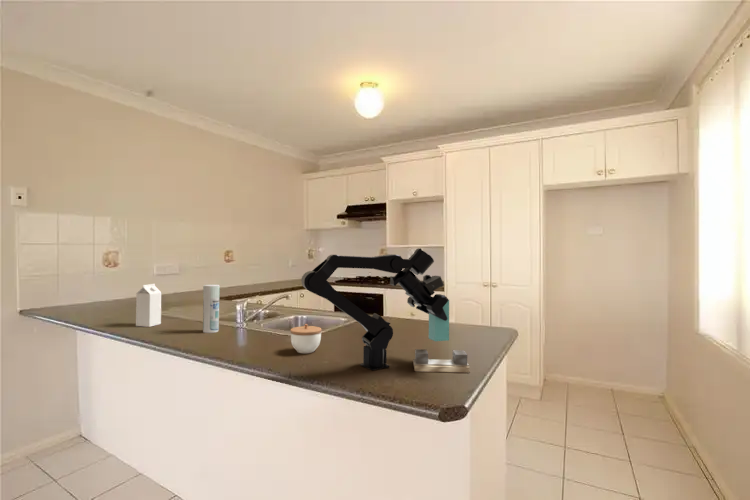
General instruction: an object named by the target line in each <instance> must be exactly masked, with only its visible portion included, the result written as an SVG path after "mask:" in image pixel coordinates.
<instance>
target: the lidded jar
mask: <svg viewBox="0 0 750 500" xmlns="http://www.w3.org/2000/svg"><path fill="white" fill-rule="evenodd" d="M321 339H322V328H321V327H319V326H313V325H308V323H305V324H304V326H294V327H292V328H291V329H290V342H291V346H292V347H293V348H294V350H295V351H296V352H297V353H298V354H311V353H314V352H315V350H316V349H317V348H319V346H320V344H321Z"/></svg>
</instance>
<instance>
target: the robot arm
mask: <svg viewBox="0 0 750 500" xmlns="http://www.w3.org/2000/svg"><path fill="white" fill-rule="evenodd" d="M434 262H435V260H434V258H433V257H432V256H431V255H430V254H429V253H427V252H426V251H424V250H422V248H416V250H414V253H412V255H410V256H409V257H408V258H403V257H402V256H401V255H400V254H382V255H377V256H355V255H353V256H351V255H339V254H329V255H328V256H327V257H326V258H325V260H323V261H322V262H321V263H319V264H318V265H317V266H315V267H314V268H313V270H309V271H307V272H305V273H303V275H302V276H301V279H300V281H301V285H302V287H303V288H304V289H306V290H307V291H309V293H312V294H314V295H317V296H319V297H321V298H323V299H325V300H326V301H328V302H329V303H331V304H332V305H334V306H336V307H337V308H338V309H339V310H341V312H343V313H345V314H346V315H347V316H349V317H350V318H352V319H353V320H354V321H356V322H357V323H359V325H360V326H362V327H363V329H364V330H365V333H364V334H363V335H362V336H361V340H362V343H363V344H364V346H363V354H362V355H363V358H362V359H363V362H361V363H360V365H359V366H361V367H363V368H366V369H368V370H370V371H377V370H380V369H381V370H382V369H385V368H389V364H387V348H388V344H389V343H390V341H391V340H392V339H393V336H394V329H393V327H392V326H391V322H390V321H387V320H385V319H384V318H383V317H382V316H381V315H379V314H377V313H375V312H374V313H373V314H372V315H370V314H368V313H367V312H365V311H364V310H363V309H361V308H360V307H359V306H357V305H356V304H355V303H353V301H351V300H349V298H347V297H345V296H344V295H343V294H341V293H340V292H338V290H336V289H335V288H334V287H333V286H332V285H331V284H330V282H329V281H328V280H329V278H330V277H331V276H332V275H333V274H334V272H335V271H336V270H338V269H340V268H341V269H342V268H343V269H368V270H369V269H371V270H377V271H380V272H385V273H391V274H395V275H394V276H392V275H391V276H390V280H389V285H391V286H394V287H395V286H397V284H398V285H399V286H400V287H401V288H402V289H403V291H405V295H406V296H408V298H407V304H408V305H409V306H410V307H412V308H414V307H415V308H416V310H418V311H421V312H423V313H425V314H428V315H429V313H430V314H432V315H434V316H436V317H438V318H440V319H442V320H444V321H446V320H447V319H448V318H447V316H446V314H445V312H444V309H443V307H444V305H445V304H446V303H447V302H448V300H449V301H450V299H449V298H448V297H447V296H446V295H445V294H442V293H441V294H440V293H439V294H438V293H436V294H435V291H436V290H437V289H439V288H443V287H444V286H445V284H444V282H443V279H442V277H441V275H432V276H431V275H429V274H425V275H424V273H426V271H427V270H428V269H429V268H430V267H431V266H432V265H433V264H434ZM416 275H417V276H416ZM418 275H424V276H422V280H420V279H419V278H418ZM433 295H434V296H433Z"/></svg>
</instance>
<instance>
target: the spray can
mask: <svg viewBox="0 0 750 500" xmlns="http://www.w3.org/2000/svg"><path fill="white" fill-rule="evenodd" d="M202 287H203V289H202V298H203V299H202V305H203V306H202V332H203V333H204V334H213V333H218V332H219V331H220V288H221V287H220V284H203V285H202Z"/></svg>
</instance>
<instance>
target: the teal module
mask: <svg viewBox="0 0 750 500" xmlns="http://www.w3.org/2000/svg"><path fill="white" fill-rule="evenodd" d="M443 309H444V312H445V314H446V316H447V318H448V319H447V320H446V321H444V320H442V319H440V318H438V317H436V316H434V315H432V314H430V313H429V314H428V339H429V340H431V341H433V342H445V341H447V342H449V341H450V299H449V300H448V302H447V303H446V304H445V305H444V307H443Z"/></svg>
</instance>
